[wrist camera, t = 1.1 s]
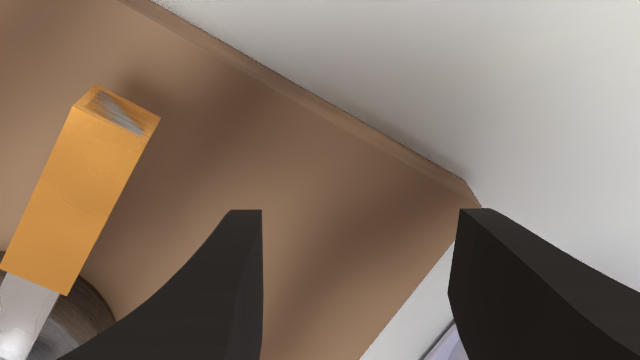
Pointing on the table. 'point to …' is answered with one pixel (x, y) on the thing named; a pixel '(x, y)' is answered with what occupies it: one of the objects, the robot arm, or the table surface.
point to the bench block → (225, 172)
